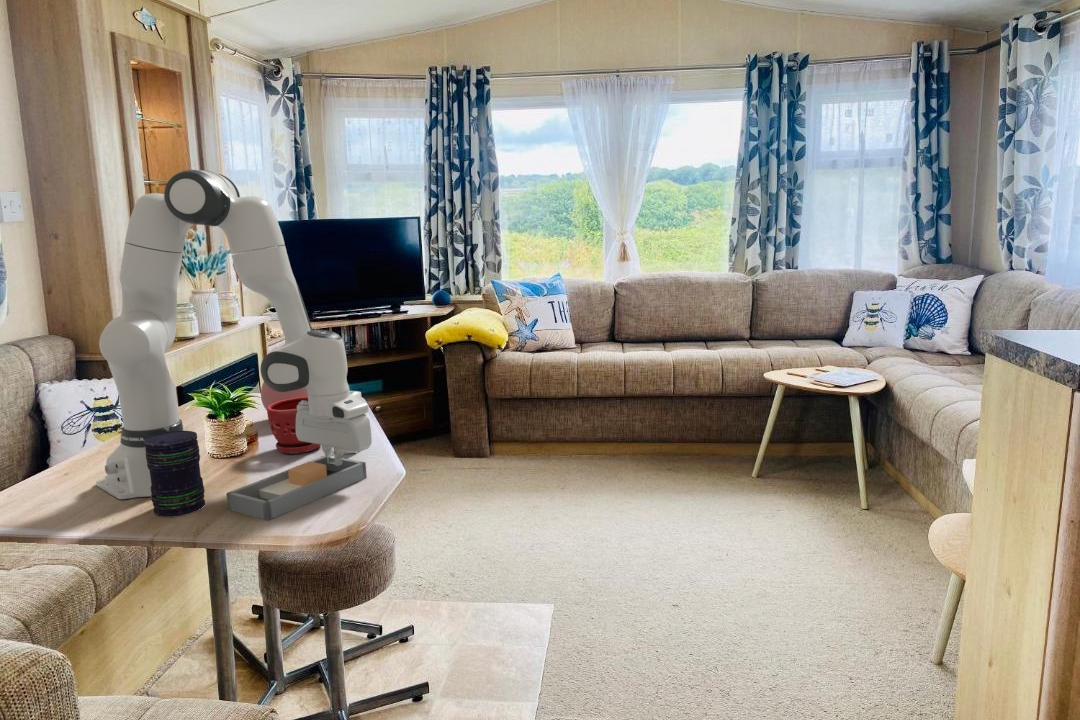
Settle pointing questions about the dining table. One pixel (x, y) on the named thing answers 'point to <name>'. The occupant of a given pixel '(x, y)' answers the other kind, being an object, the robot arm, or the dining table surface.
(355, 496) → the dining table surface
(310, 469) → the wooden block
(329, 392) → the robot arm
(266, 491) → the tray box
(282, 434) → the plant pot
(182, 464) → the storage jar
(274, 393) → the balloon
